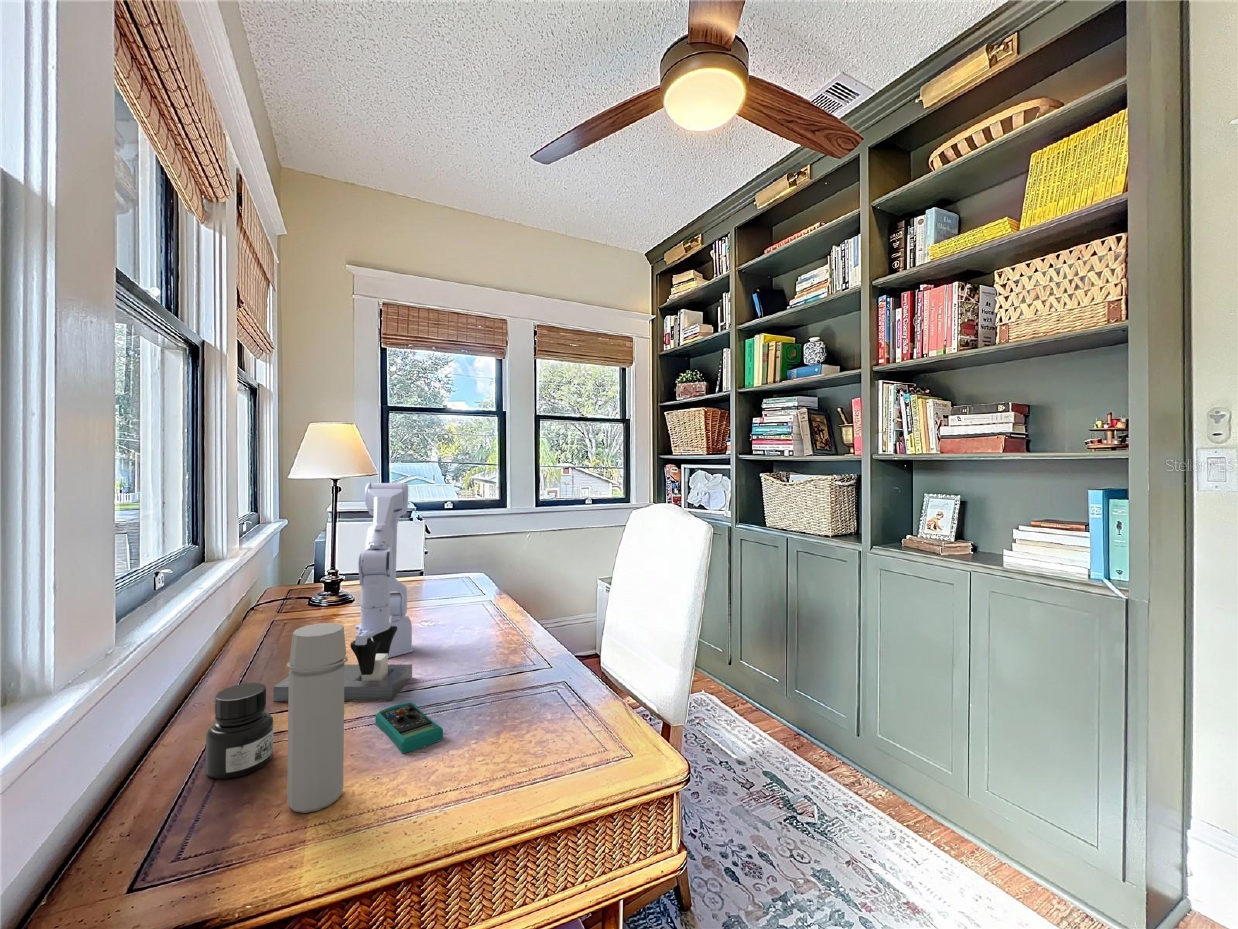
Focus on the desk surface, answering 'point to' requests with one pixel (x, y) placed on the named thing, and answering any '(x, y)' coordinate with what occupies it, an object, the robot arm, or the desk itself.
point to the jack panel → (362, 684)
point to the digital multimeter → (408, 727)
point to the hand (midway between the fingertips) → (374, 667)
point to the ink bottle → (239, 732)
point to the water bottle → (316, 716)
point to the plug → (378, 669)
